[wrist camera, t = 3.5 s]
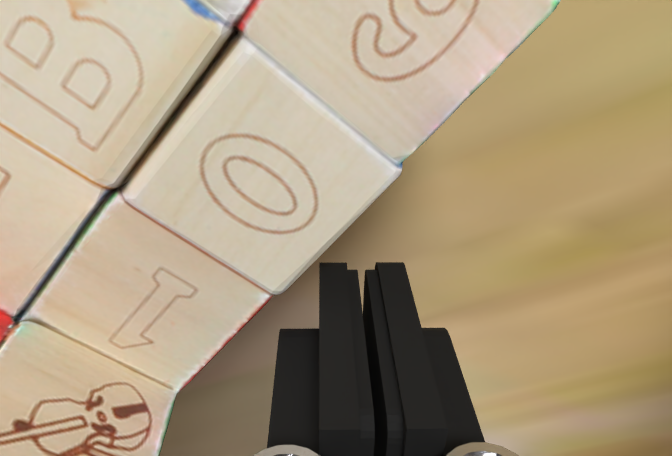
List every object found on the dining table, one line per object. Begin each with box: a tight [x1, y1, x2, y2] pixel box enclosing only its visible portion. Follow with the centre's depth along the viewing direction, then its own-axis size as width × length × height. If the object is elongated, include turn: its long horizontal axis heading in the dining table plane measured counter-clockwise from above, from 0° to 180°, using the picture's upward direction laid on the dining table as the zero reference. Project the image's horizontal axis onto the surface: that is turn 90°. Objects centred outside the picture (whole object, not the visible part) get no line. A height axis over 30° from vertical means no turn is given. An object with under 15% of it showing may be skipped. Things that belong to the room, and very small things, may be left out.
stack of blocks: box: [0, 0, 561, 456], centre depth 12 cm, size 21×6×12 cm, turn 138°
